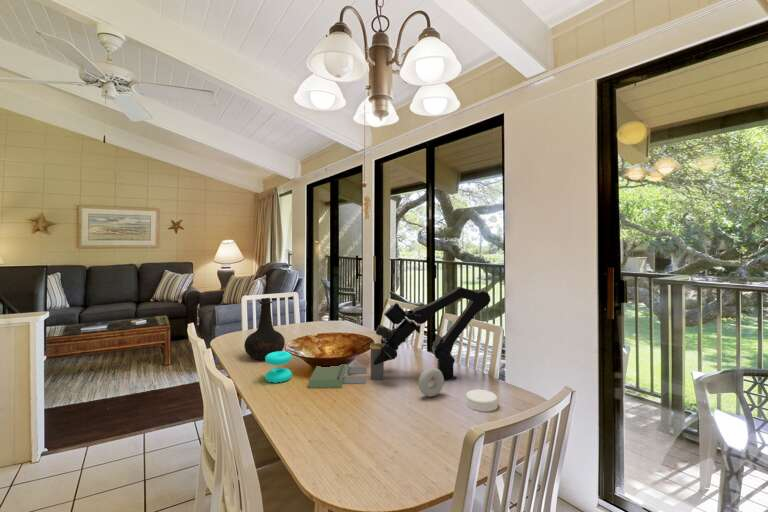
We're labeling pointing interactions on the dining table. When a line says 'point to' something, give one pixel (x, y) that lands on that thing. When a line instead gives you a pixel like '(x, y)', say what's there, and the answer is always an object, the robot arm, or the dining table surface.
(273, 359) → the donuts
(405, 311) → the robot arm
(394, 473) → the dining table surface
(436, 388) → the donut
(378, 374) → the grey tan rectangular block
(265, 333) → the dark bulbous vase
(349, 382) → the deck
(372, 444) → the dining table surface
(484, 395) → the white round disc
